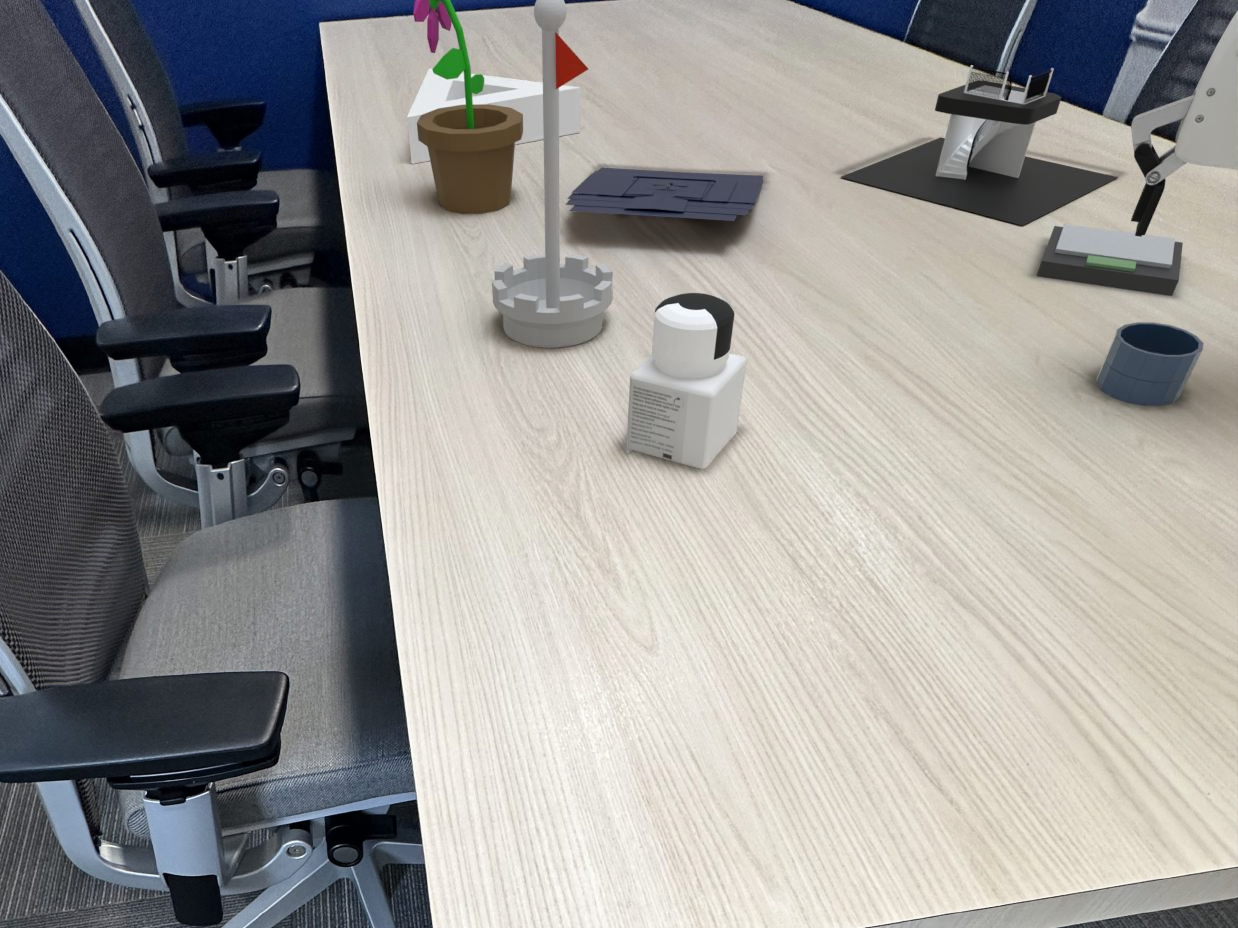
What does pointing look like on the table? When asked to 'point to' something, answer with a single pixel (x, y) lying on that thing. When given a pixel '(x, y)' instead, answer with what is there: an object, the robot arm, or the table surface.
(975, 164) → the black-topped pedestal
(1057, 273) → the scale
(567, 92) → the triangle block
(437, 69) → the flowerpot
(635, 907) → the table surface
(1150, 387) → the blue cup
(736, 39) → the table surface
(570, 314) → the flag stand
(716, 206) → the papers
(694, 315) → the container
